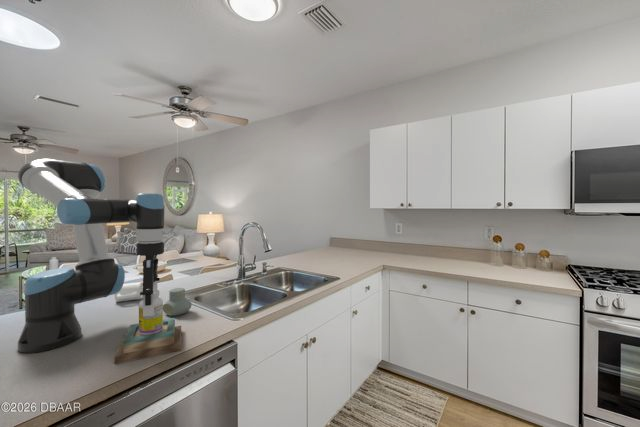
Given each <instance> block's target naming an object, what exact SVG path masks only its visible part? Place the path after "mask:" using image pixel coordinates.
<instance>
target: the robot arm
mask: <svg viewBox="0 0 640 427" xmlns="http://www.w3.org/2000/svg"><path fill="white" fill-rule="evenodd" d="M17 175H18V176H17V178H18V181H19V183H20V184H21V185H22V186H23V188H25V189H26V190H28V191H29V192H31V193H34V194H38V195H40V196H41V197H42V198H44V199H46V200H47V201H48V202H49V203H51V204H52V205H53V206H55V207H56V216H57V217H58V219H59V222H61V224H63V225H72V229H73V234H74V239H75V244H76V248H77V249H76V250H77V255H78V259H79V261H78V262H77V264H76V265H75V266H74V267H75V269H74V268H73V267H71V266H70V267H68V266H67V267H65V266H64V267H60V268H53V269H47V270H44V271H39V272H37V273H35V274H32V275H30V276H29V277H28V278H27V279H26V280H25V283H24V284H25V285H24V290H23V295H24V309H25V310H24V311H25V312H24V313H25V314H24V316H25V319H24V320H25V323H24V326H23V329H22V331H21V334H20V335H19V338H18V341H17V351H18V352H20V353H24V354H25V353H26V354H27V353H29V354H30V353H31V354H32V353H33V354H34V353H39V352H40V353H41V352H45V351H50V350H53V349H57V348H60V347H63V346H66V345H69V344H70V343H71V344H72V343H73V342H75V341H76V340H78V339H79V338H80V337H81V336H82V326H81V324H80V322H79V320H78V317H77V316H76V313H75V306H76V305H77V304H82V303H86V302H90V301H94V300H97V299H102V298H104V299H105V298H107V297H109V296H113V295H114V294H116V293H118V292H119V291H120V290H121V288H122V286H123V284H125V277H126V276H125V275H126V274H125V269H124V267H123V266H122V264H120V263H118V262H117V263H115V262H116V260H115V258H114V257H112V256H110V255H109V251H108V247H107V242H106V237H105V232H104V228H103V224H121V223H122V224H123V223H136V228H135V229H136V231H135V232H136V233H135V234H136V235H135V237H136V239H135V240H136V242H137V244H136V255H137V256H140V257H141V256H142V257H143V256H144V257H145V259H143V261H142V273H143V274H142V276H143V277H142V292H140V295H143V297H142V300H143V316H150V315H154V293H153V290H158V282H160V280H161V279H160V278H161V277H159V275H158V266H159V265H158V264H159V258H158V257H157V256H158V255H162V254H164V252H165V243H164V240H165V235H166V234H167V231H166V230H165V207H166V206H165V200H164V195H162V194H161V193H146V192H145V193H138V194H137V195H136V198H135V199H122V198H121V199H117V198H115V199H113V198H99V196H101V193H102V192H103V191H104V189H105V183H106V179H105V176H104V172H103V170H101V169H100V167H99V166H97V165H94V164H91V163H87V162H76V161H68V160H67V161H66V160H60V159H59V160H58V159H53V158H41V159H40V158H39V159H35V160H31V161H29V162H26V163H25V164H24V165H22V167H20V169H19V171H18V174H17Z"/></svg>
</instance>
